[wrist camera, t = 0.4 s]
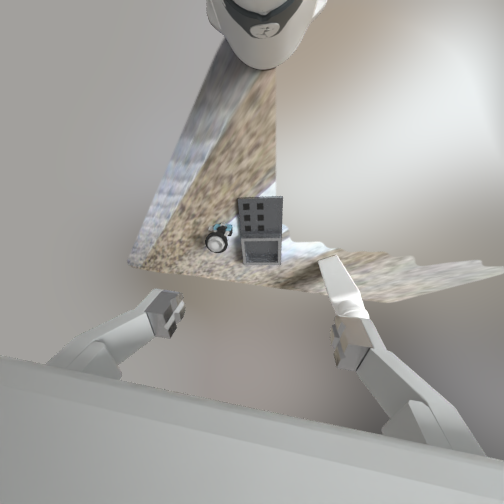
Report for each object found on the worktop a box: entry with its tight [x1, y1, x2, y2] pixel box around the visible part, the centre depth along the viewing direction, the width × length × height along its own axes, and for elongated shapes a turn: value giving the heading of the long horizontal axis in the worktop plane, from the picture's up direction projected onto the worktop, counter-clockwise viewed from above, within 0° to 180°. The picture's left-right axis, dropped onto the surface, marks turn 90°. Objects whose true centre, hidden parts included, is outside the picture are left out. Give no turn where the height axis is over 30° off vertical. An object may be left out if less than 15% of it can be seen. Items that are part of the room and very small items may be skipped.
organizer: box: [238, 196, 283, 265], centre depth 49 cm, size 20×11×4 cm, turn 4°
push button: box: [205, 223, 232, 253], centre depth 47 cm, size 7×5×10 cm
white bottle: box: [318, 255, 369, 319], centre depth 46 cm, size 6×6×22 cm
